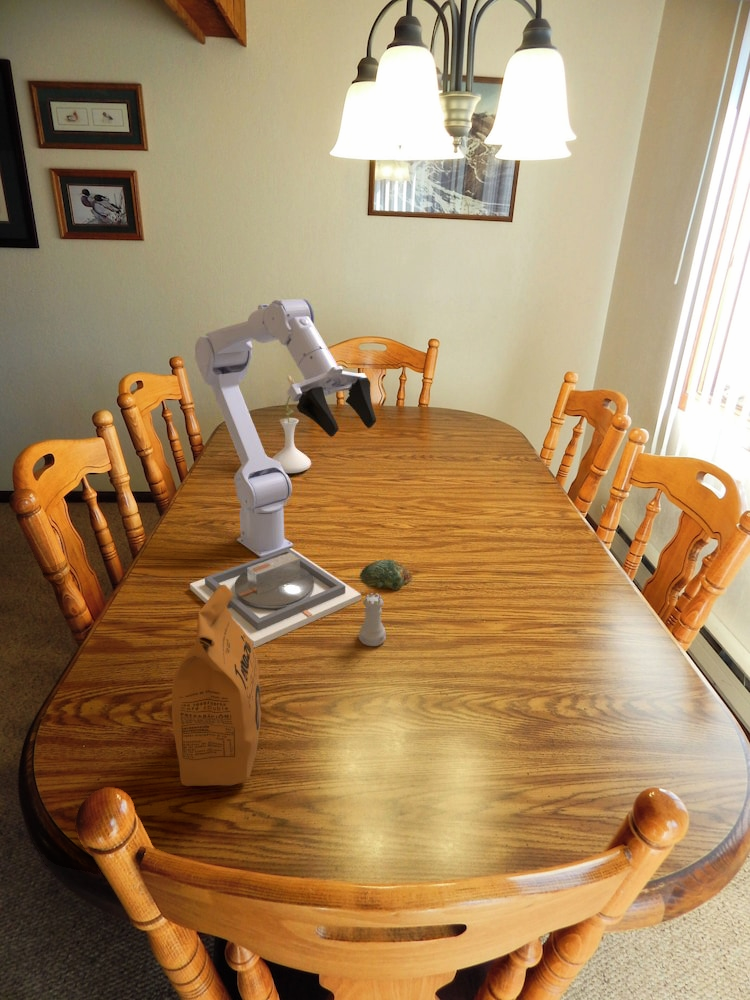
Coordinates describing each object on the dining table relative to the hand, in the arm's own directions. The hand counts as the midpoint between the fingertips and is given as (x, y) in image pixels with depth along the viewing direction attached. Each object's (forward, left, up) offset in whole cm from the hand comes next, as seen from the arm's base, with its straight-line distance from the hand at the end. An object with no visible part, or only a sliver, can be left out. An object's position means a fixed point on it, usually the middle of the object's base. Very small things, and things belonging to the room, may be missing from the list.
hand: (353, 428), depth 98 cm
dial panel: (-11, -9, -32) cm, 35 cm away
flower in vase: (-62, +29, -32) cm, 76 cm away
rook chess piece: (+10, -4, -32) cm, 34 cm away
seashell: (-3, +11, -33) cm, 35 cm away
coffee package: (+16, -34, -32) cm, 50 cm away
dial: (-11, -9, -31) cm, 34 cm away
